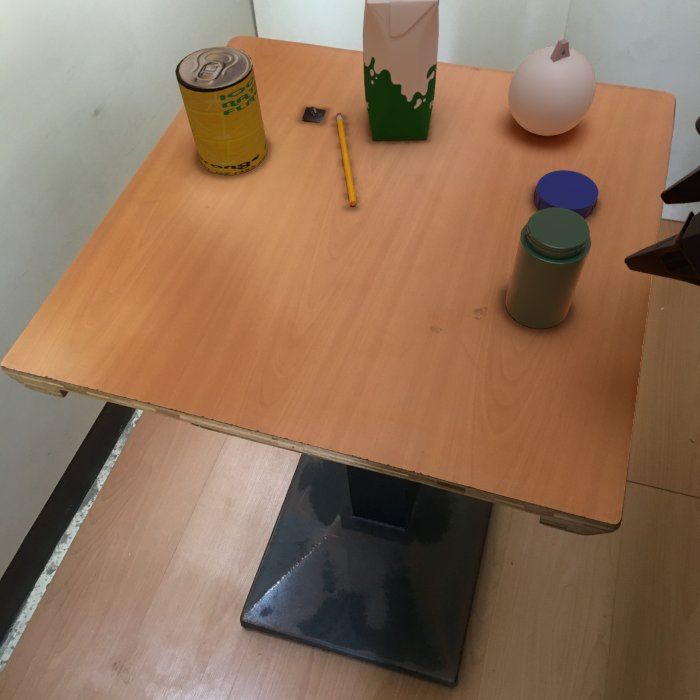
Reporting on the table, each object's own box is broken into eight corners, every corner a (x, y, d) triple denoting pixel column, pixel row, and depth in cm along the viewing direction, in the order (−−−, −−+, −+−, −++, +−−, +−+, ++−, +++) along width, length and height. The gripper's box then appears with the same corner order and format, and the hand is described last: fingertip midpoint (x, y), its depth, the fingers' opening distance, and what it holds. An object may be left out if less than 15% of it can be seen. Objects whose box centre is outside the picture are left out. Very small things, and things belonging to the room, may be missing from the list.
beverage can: (274, 133, 87) (260, 47, 77) (258, 177, 81) (241, 90, 72) (210, 130, 88) (188, 45, 78) (191, 172, 83) (164, 87, 73)
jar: (560, 280, 69) (585, 201, 60) (574, 327, 65) (603, 250, 56) (500, 284, 69) (516, 205, 60) (511, 330, 65) (530, 254, 56)
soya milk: (434, 144, 84) (445, -18, 68) (364, 145, 84) (359, -15, 68) (431, 105, 89) (441, -54, 73) (366, 106, 90) (361, -51, 73)
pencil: (342, 116, 88) (341, 112, 88) (356, 205, 77) (356, 200, 77) (336, 117, 88) (335, 112, 87) (350, 205, 77) (349, 201, 77)
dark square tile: (326, 110, 89) (326, 102, 88) (321, 123, 88) (321, 115, 87) (306, 107, 90) (306, 99, 89) (301, 120, 88) (301, 112, 87)
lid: (607, 202, 76) (612, 190, 74) (567, 230, 73) (571, 218, 72) (561, 174, 79) (564, 161, 78) (521, 199, 77) (523, 187, 75)
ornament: (555, 161, 81) (578, 71, 71) (488, 130, 85) (501, 42, 75) (598, 123, 85) (625, 33, 75) (531, 95, 89) (549, 7, 79)
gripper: (844, -16, 43) (633, 95, 56) (783, 128, 34) (548, 221, 47) (909, 120, 46) (695, 195, 59) (868, 284, 37) (626, 331, 50)
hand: (645, 230), depth 54 cm, fingers open, 9 cm apart
